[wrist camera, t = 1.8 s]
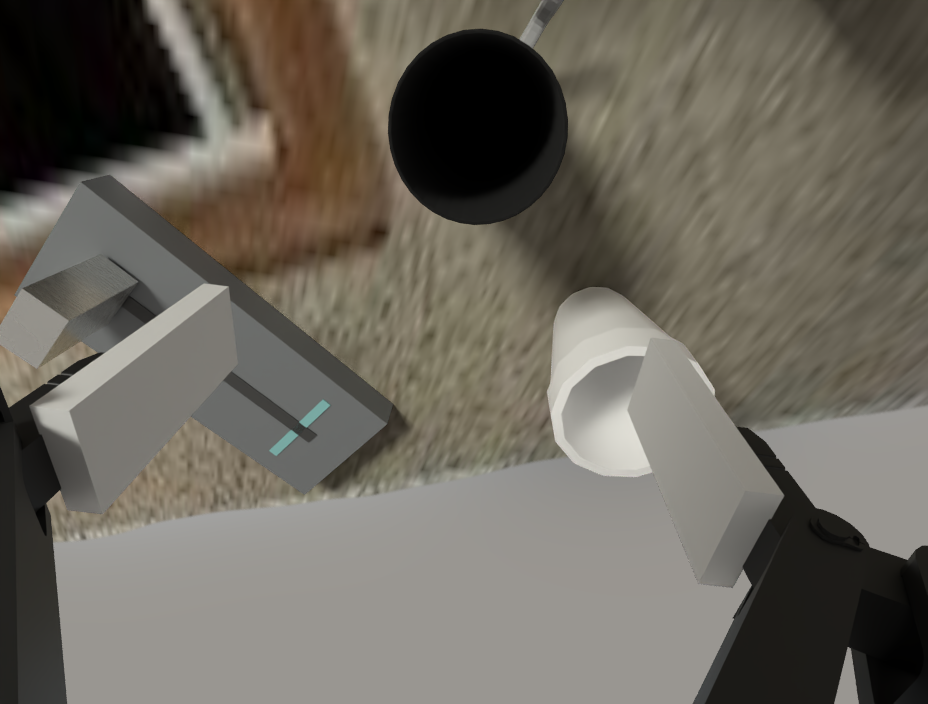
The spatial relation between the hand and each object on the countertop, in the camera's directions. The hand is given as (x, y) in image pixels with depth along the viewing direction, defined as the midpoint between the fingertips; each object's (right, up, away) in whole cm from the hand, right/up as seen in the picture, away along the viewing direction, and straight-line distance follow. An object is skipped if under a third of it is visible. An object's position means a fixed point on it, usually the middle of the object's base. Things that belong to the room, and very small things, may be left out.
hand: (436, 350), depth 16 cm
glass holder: (+4, +18, +17) cm, 25 cm away
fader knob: (-26, +5, +22) cm, 35 cm away
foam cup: (+11, +2, +25) cm, 28 cm away
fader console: (-20, 0, +28) cm, 34 cm away
